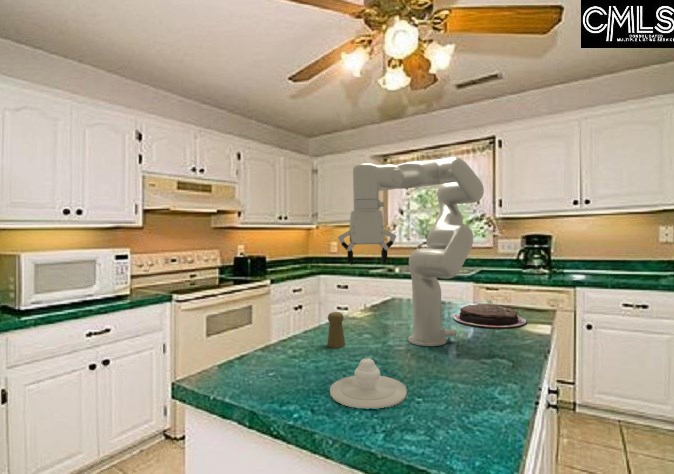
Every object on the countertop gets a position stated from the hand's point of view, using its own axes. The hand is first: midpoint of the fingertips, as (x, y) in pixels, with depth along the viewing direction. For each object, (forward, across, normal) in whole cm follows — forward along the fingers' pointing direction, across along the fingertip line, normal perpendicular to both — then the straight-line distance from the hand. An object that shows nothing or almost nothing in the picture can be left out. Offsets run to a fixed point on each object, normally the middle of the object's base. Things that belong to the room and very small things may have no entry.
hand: (367, 263), depth 121 cm
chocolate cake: (+29, -55, -41) cm, 74 cm away
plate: (+28, +4, +25) cm, 38 cm away
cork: (+28, +9, -15) cm, 33 cm away
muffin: (+27, +4, +25) cm, 37 cm away
